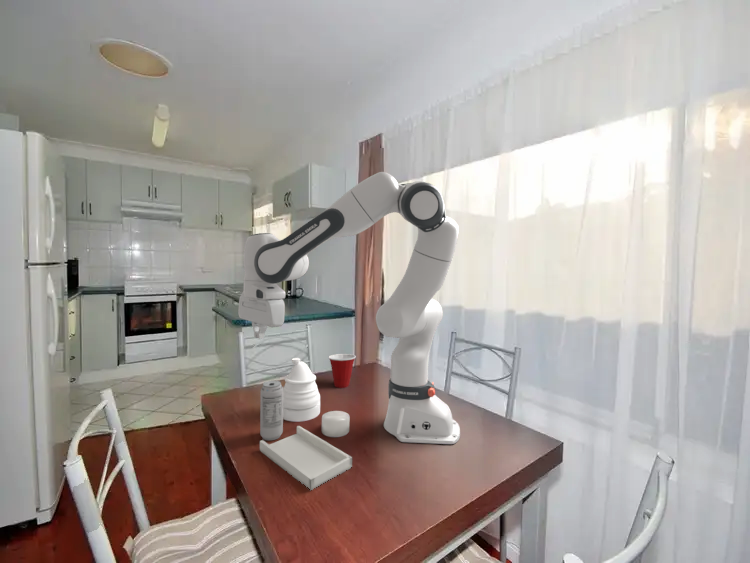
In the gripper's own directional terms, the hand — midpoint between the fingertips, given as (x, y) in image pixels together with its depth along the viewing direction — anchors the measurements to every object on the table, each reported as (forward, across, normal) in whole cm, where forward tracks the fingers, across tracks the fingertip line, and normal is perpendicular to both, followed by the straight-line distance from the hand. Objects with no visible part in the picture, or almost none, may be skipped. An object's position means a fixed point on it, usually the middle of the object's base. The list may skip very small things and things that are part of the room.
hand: (259, 338), depth 99 cm
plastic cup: (+27, -9, +40) cm, 49 cm away
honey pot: (+27, 0, +14) cm, 30 cm away
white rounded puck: (+26, +17, +15) cm, 35 cm away
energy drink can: (+27, +7, 0) cm, 28 cm away
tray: (+26, +23, 0) cm, 35 cm away
